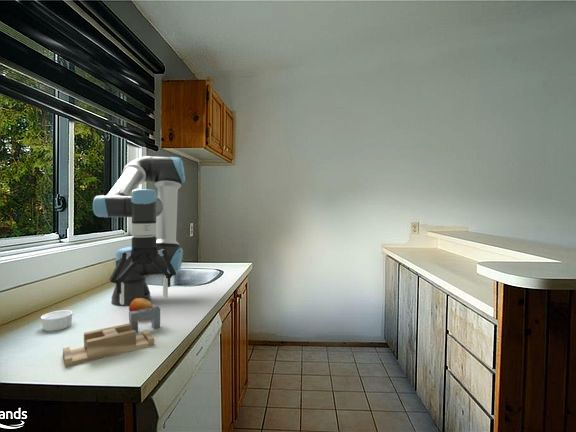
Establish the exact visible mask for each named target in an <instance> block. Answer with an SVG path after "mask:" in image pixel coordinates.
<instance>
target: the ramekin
mask: <svg viewBox="0 0 576 432" xmlns="http://www.w3.org/2000/svg"><path fill="white" fill-rule="evenodd" d="M40 320H41V326H42V329H43V331H46V332H53V331H54V332H55V330H56V331H60V330H64V329H67V328H68V327H70V326H71V325H72V321H73V311H72V310H69V309H65V310H64V309H62V310H61V309H60V310H53V311H51V312H48V313H44V314H42V315H41V316H40Z"/></svg>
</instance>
